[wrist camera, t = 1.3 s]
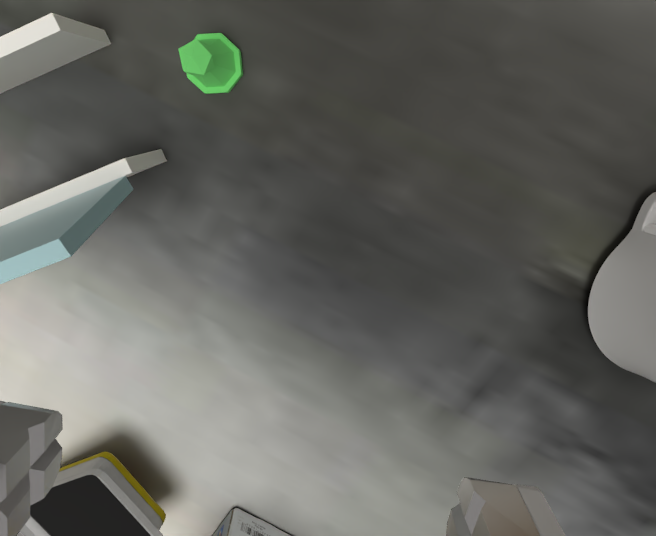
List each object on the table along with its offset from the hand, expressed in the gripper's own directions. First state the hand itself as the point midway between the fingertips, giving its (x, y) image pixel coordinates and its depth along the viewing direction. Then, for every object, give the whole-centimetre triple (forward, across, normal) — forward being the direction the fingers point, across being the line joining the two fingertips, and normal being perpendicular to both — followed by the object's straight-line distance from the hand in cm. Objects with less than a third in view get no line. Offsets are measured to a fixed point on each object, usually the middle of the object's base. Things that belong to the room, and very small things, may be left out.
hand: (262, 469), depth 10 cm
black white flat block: (+26, +10, +27) cm, 39 cm away
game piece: (+31, +9, -8) cm, 34 cm away
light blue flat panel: (+24, +20, +4) cm, 32 cm away
